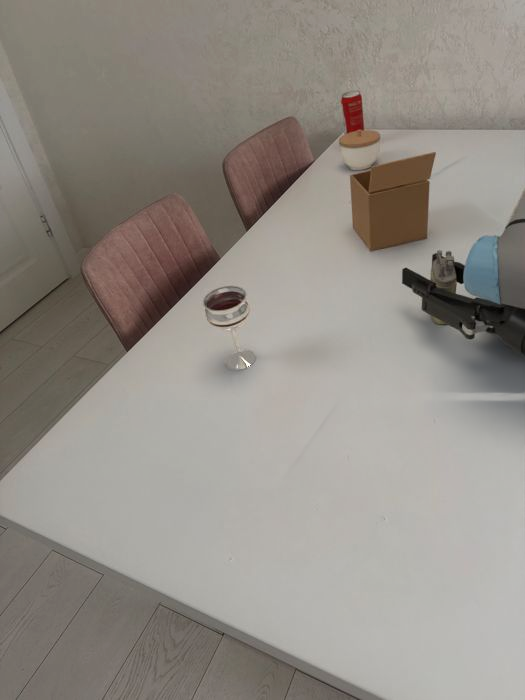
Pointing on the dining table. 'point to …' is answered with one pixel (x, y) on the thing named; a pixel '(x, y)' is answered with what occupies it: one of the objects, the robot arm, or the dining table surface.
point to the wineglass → (230, 319)
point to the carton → (389, 212)
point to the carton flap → (401, 172)
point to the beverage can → (352, 111)
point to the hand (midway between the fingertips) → (419, 268)
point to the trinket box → (360, 148)
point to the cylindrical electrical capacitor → (443, 275)
